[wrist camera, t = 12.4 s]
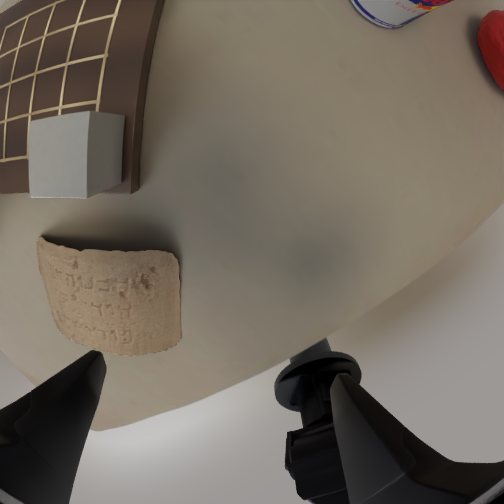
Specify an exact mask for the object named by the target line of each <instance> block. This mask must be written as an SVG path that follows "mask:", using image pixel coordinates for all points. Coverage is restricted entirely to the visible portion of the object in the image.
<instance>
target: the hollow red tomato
mask: <svg viewBox="0 0 504 504" xmlns="http://www.w3.org/2000/svg"><path fill="white" fill-rule="evenodd" d="M477 38H478V44H479V48H480V51H481V53H482V56H483V58H484V61H485V63H486V66H487V68H488V70H489V72H490V73H491V75H492V76H493V78H494V80H495V81H496V83H497V84H498V86H499V87H500V88H501V89H502V90H503V91H504V11H499V10H494V11H491V12H489V13H488V14H487V15H486V16H485V17H484V18H483V19H482V21H481V24H480V26H479V28H478V35H477Z"/></svg>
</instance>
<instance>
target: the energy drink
mask: <svg viewBox="0 0 504 504" xmlns="http://www.w3.org/2000/svg"><path fill="white" fill-rule="evenodd" d="M451 1H453V0H351V2H352V3H353V5H354V6H355V8H356V9H357V10H358V11H359V12H360V13H361V14H362V15H363V16H364V17H366V18H367V19H368V20H370V21H372V22H373V23H375V24H377V25H380V26H383V27H386V28H392V29H394V28H400V27H402V26H404V25H406V24H408V23H410V22H411V21H413V20H415V19H417V18H419V17H421V16H422V15H424V14H426V13H428V12H430V11H432V10H434V9H436V8H438V7H440V6H442V5H445V4H447V3H449V2H451Z"/></svg>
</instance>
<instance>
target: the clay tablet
mask: <svg viewBox="0 0 504 504" xmlns="http://www.w3.org/2000/svg"><path fill="white" fill-rule="evenodd" d="M37 252H38V261H39V270H40V274H41V276H42V279H43V281H44V284H45V288H46V292H47V297H48V300H49V304H50V307H51V312H52V315H53V318H54V321H55V322H56V325H57V327H58V329H59V330H60V331H61V332H62V334H64V335H65V336H66V337H67V338H68V339H69V340H71V339H72V340H73V341H74V342H75V343H78V344H81V345H86V346H87V345H89V346H90V347H92V348H93V349H95V350H96V349H97V350H102V351H104V352H109V353H116V354H118V355H128V356H133V355H136V356H137V355H144V354H147V353H156V352H157V351H158V352H161V351H162V350H165V351H166V350H167V349H168V348H171V347H173V346H176V345H177V342H179V340H180V339H181V325H180V294H179V289H180V283H181V282H180V281H179V264H178V259H176V258H175V257H174V255H173V254H172V253H167V252H166V251H160V250H146V251H142V250H141V251H139V252H135V251H128V252H123V251H120V250H119V251H118V250H115V251H114V250H113V251H111V252H109V251H104V250H95V249H85V250H83V251H81V252H80V251H78V250H76V249H70V248H65V247H64V246H63V245H62V246H57V245H55V244H51V242H50V243H48V242H46V241H45V240H44V238H42V237H41V236H39V239H38V241H37Z"/></svg>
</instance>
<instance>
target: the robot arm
mask: <svg viewBox="0 0 504 504" xmlns="http://www.w3.org/2000/svg"><path fill="white" fill-rule="evenodd" d="M105 375H106V364H105V361H104V357H103V354H102V353H101V352H99V351H95V350H91V351H89V352H88V353H86V354H85V355H83V356H82V357H81V358H79V359H78V360H76V361H75V362H73V363H72V364H70V365H69V366H67V367H66V368H64V369H63V370H61V371H60V372H58V373H57V374H55V375H54V376H52V377H51V378H49V379H48V380H47V381H45V382H44V383H42V384H41V385H39V386H38V387H36V388H35V389H33V390H32V391H31V392H29V393H27V394H26V395H24V396H23V397H21V398H20V399H18V400H17V401H15V402H13V403H12V404H10V405H8V406H6V407H4V408H3V409H1V410H0V504H69V500H70V496H71V492H72V488H73V483H74V480H75V476H76V472H77V468H78V465H79V461H80V458H81V455H82V451H83V448H84V445H85V441H86V438H87V435H88V432H89V429H90V426H91V423H92V420H93V417H94V414H95V412H96V409H97V406H98V403H99V399H100V395H101V390H102V386H103V382H104V378H105ZM351 375H352V374H351V371H350V370H343V371H313V372H301V373H300V374H299V377H298V379H297V382H296V385H295V388H294V391H293V393H292V396H291V399H290V402H289V403H290V406H299V408H300V413H301V419H302V424H303V428H302V429H299V430H295V431H290V432H287V439H286V453H285V469H286V470H288V471H289V473H290V475H291V477H292V478H293V479H294V480H295V482H296V490H297V494H298V495H299V496H300V497H301V498H302V499H303V500H308V501H309V502H311V503H312V504H504V461H501V462H497V463H463V462H454V461H452V460H449V459H447V458H446V457H444V456H443V455H441V454H440V453H438V452H437V451H435V450H434V449H433V448H431V447H429V446H428V445H427V444H425V443H424V442H423V441H421V440H420V439H419V438H418V437H416V436H415V435H414V434H413V433H412V432H411V431H409V430H408V429H407V428H406V427H404V425H403V424H402V423H400V422H399V421H398V420H397V419H396V418H395V417H394V416H393V415H392V414H391V413H389V412H388V411H387V410H386V409H385V408H384V407H383V406H382V405H381V404H380V403H379V402H378V401H376V400H375V399H374V398H373V397H372V396H371V395H370V394H369V393H368V392H367V391H366V390H365V389H364V388H362V387H361V386H360V385H359V384H358V383H357V382H356V381H355V380H354V379H353V378H352V377H351Z"/></svg>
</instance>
